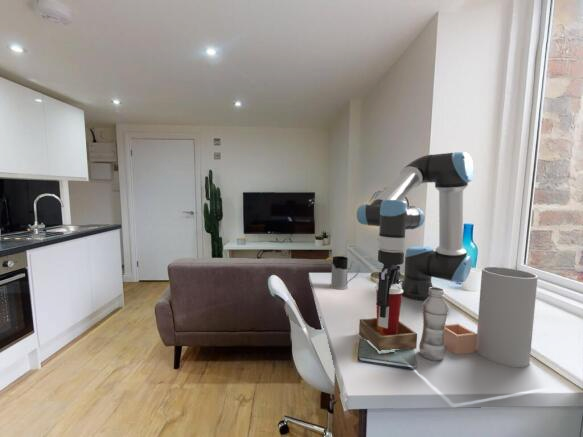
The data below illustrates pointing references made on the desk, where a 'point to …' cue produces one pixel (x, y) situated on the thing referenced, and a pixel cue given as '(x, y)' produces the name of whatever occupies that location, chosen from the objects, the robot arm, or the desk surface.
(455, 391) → the desk surface
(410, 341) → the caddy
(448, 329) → the planter
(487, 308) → the cylinder vase
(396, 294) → the coffee cup
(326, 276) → the desk surface
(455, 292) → the desk surface
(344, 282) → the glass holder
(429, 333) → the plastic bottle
